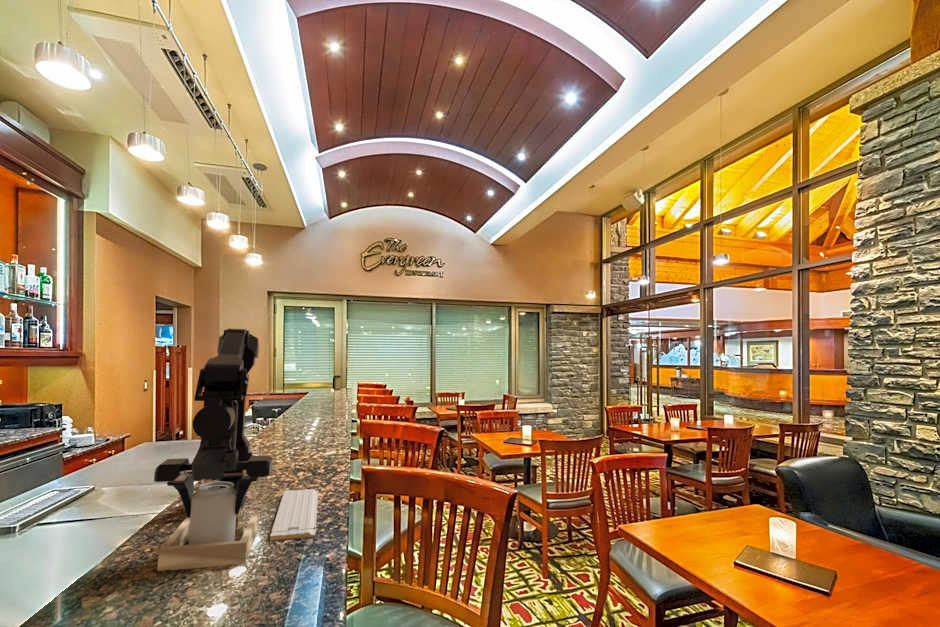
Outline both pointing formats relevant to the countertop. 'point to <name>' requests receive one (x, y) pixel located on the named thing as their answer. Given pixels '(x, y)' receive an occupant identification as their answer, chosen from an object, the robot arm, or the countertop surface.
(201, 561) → the rack
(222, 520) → the can
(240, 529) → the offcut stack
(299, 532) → the baseboard
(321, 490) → the countertop surface
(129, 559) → the countertop surface
